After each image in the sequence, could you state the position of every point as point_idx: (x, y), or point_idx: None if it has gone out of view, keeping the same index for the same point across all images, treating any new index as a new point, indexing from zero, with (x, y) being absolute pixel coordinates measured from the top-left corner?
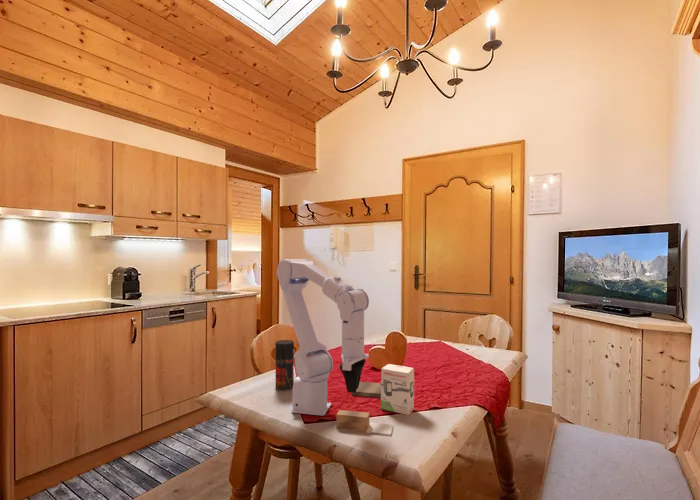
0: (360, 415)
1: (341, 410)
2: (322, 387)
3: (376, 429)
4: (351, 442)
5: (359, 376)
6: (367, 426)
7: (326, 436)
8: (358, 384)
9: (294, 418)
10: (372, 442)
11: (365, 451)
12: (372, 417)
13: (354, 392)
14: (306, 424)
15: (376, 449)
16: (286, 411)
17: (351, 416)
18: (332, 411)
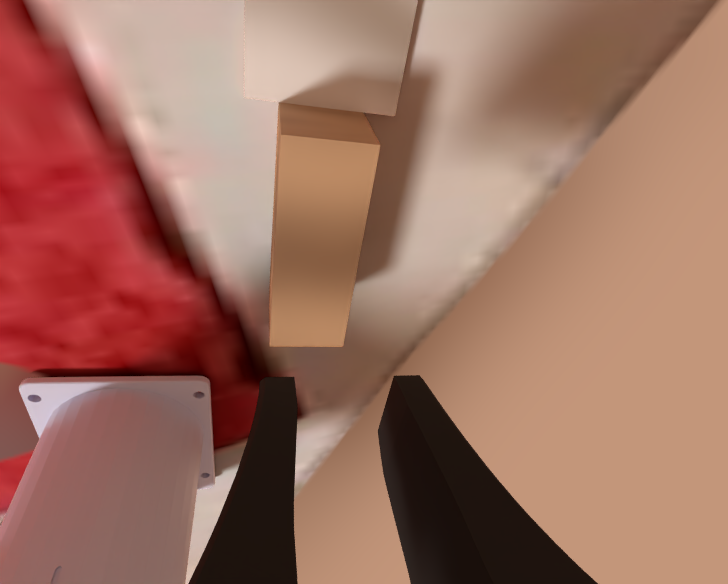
0: (346, 203)
1: (277, 333)
2: (135, 536)
3: (358, 36)
4: (499, 194)
5: (293, 516)
6: (363, 118)
7: (427, 315)
8: (295, 414)
9: None
10: (517, 62)
11: (610, 104)
12: (108, 78)
13: (424, 385)
14: (313, 408)
15: (607, 29)
16: (202, 494)
17: (357, 260)
18: (121, 350)
